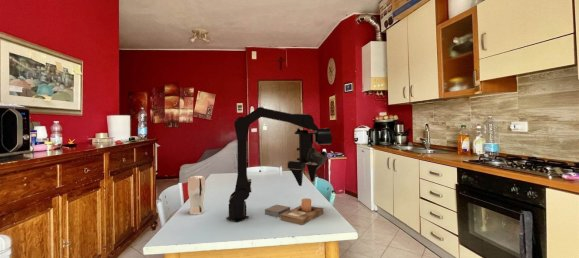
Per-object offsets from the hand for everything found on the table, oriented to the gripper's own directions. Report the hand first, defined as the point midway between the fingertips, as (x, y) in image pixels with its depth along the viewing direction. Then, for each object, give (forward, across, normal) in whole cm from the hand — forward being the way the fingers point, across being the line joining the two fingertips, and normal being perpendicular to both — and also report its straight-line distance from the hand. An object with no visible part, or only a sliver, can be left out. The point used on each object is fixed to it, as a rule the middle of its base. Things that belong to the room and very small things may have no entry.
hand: (306, 183), depth 113 cm
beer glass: (+12, -23, +40) cm, 48 cm away
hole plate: (+12, -3, 0) cm, 13 cm away
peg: (+12, 0, 0) cm, 13 cm away
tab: (+12, -5, +11) cm, 17 cm away
